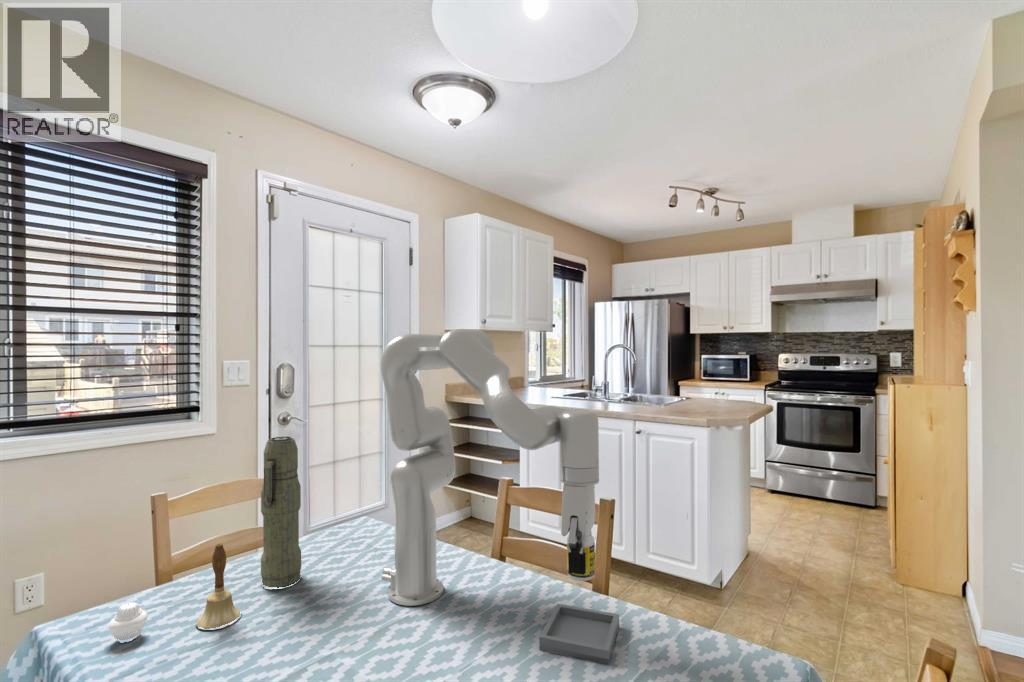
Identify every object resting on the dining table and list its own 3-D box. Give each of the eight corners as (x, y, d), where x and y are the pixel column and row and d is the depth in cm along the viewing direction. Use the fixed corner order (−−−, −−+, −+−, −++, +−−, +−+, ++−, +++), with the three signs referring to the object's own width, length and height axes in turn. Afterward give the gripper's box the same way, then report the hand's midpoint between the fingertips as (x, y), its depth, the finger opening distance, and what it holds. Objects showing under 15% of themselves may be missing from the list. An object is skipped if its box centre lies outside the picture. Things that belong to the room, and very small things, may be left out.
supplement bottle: (594, 583, 96) (593, 531, 96) (565, 580, 97) (565, 529, 97) (595, 570, 101) (595, 521, 101) (568, 568, 102) (567, 519, 102)
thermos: (309, 570, 129) (308, 433, 130) (289, 593, 118) (288, 442, 118) (274, 570, 129) (274, 434, 130) (251, 593, 118) (250, 443, 118)
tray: (539, 650, 95) (539, 636, 95) (557, 615, 107) (557, 603, 107) (608, 664, 91) (608, 650, 91) (619, 626, 103) (619, 614, 103)
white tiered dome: (114, 634, 101) (114, 599, 101) (151, 627, 104) (151, 593, 104) (103, 651, 96) (103, 614, 96) (142, 643, 98) (142, 607, 98)
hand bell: (250, 615, 108) (250, 540, 108) (213, 635, 101) (212, 555, 101) (224, 606, 112) (224, 534, 112) (186, 626, 104) (186, 548, 104)
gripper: (571, 462, 108) (572, 547, 108) (549, 483, 92) (550, 583, 92) (606, 465, 106) (607, 552, 106) (589, 487, 90) (591, 589, 90)
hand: (580, 565), depth 99 cm, fingers closed on supplement bottle, 5 cm apart
